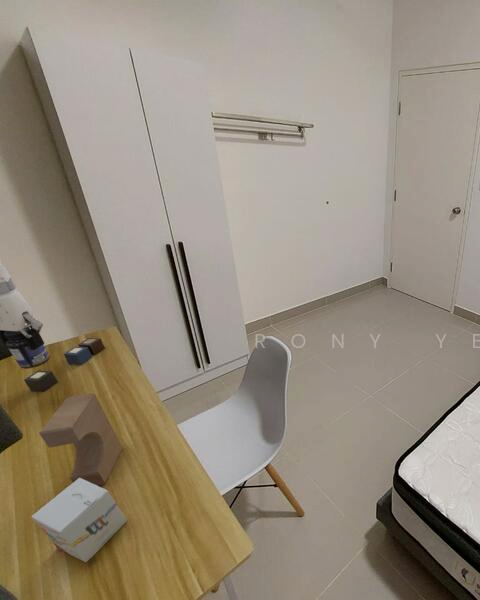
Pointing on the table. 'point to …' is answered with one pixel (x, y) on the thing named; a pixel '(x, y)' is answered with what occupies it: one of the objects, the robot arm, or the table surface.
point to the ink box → (80, 519)
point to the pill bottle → (25, 350)
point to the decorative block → (85, 437)
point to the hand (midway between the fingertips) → (25, 345)
